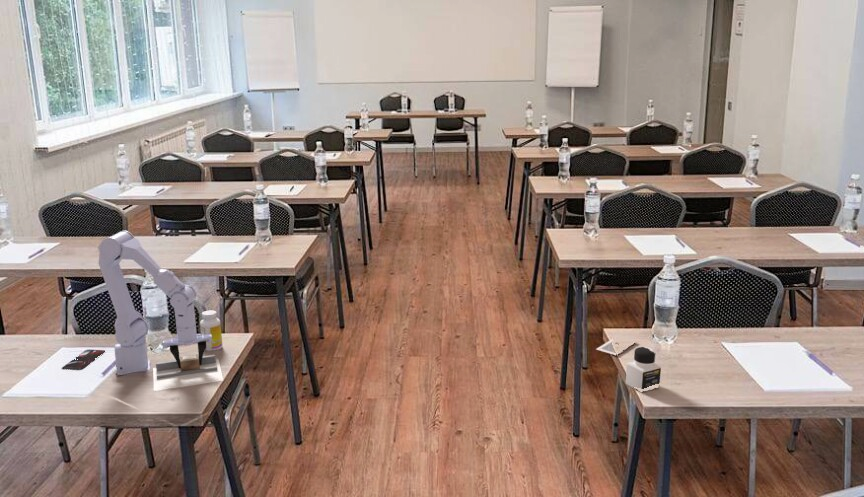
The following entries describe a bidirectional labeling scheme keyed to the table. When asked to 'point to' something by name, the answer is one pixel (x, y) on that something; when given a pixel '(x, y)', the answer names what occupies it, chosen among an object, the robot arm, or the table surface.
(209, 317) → the supplement bottle
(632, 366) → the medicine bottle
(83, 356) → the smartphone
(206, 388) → the table surface
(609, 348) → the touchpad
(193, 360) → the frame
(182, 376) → the wall board
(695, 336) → the table surface
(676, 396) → the table surface
